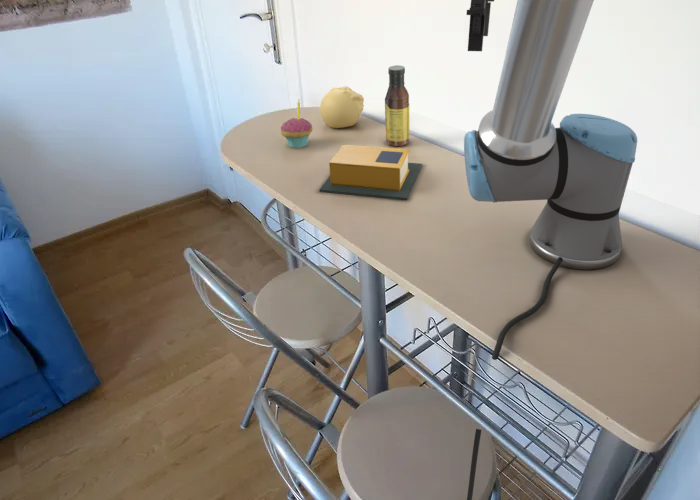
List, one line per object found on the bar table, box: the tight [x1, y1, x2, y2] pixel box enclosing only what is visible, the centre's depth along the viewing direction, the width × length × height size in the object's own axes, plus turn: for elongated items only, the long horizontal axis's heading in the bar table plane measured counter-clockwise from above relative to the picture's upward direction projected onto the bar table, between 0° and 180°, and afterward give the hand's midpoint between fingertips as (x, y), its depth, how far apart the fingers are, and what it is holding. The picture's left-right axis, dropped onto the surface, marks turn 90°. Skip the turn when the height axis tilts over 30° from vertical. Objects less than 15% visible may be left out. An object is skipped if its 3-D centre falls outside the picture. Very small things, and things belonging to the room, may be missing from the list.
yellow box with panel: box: [328, 144, 410, 191], centre depth 119 cm, size 16×10×6 cm, turn 73°
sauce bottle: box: [384, 64, 410, 147], centre depth 134 cm, size 7×6×20 cm
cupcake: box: [280, 99, 313, 149], centre depth 138 cm, size 9×8×12 cm
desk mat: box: [318, 162, 423, 201], centre depth 122 cm, size 18×20×1 cm
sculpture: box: [319, 86, 365, 129], centre depth 150 cm, size 12×12×11 cm
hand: (478, 43), depth 107 cm, fingers open, 13 cm apart
